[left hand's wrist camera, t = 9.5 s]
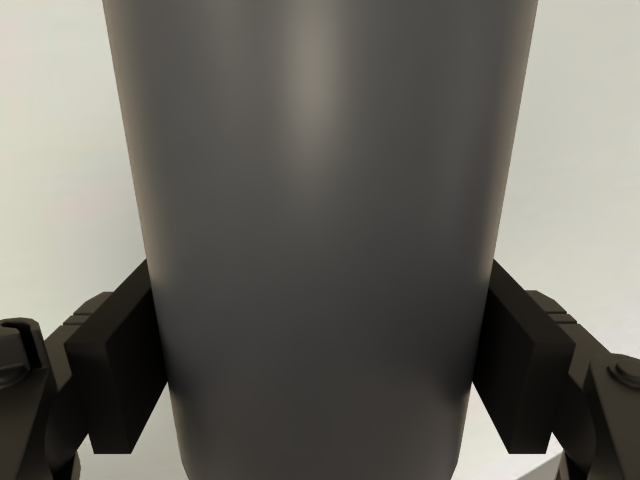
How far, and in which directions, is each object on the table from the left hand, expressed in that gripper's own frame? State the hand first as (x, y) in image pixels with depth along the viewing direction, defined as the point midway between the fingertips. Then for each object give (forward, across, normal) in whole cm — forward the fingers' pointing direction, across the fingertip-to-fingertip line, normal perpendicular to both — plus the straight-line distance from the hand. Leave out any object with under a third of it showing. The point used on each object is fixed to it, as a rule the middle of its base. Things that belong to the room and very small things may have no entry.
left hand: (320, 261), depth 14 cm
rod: (0, 0, -10) cm, 10 cm away
